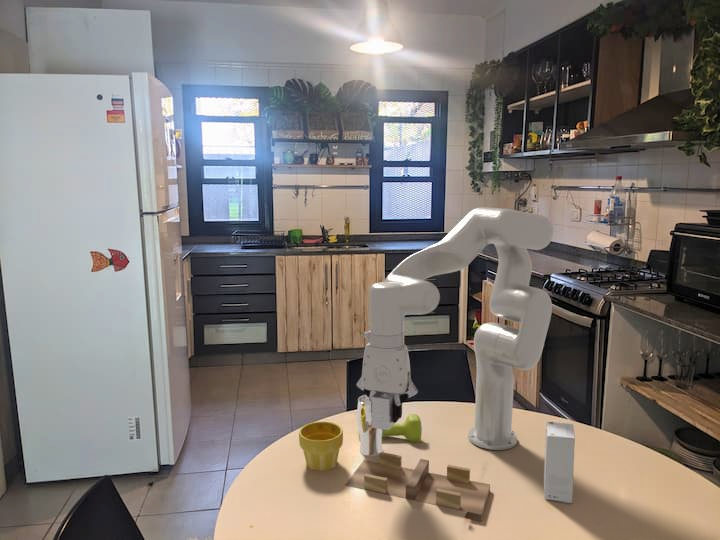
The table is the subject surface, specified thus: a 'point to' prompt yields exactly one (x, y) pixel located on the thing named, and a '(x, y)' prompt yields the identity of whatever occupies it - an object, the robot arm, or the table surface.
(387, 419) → the grey rectangular block
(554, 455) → the skincare box
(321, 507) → the table surface
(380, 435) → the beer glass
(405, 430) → the dumbbell
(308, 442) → the plant pot
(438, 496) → the board
